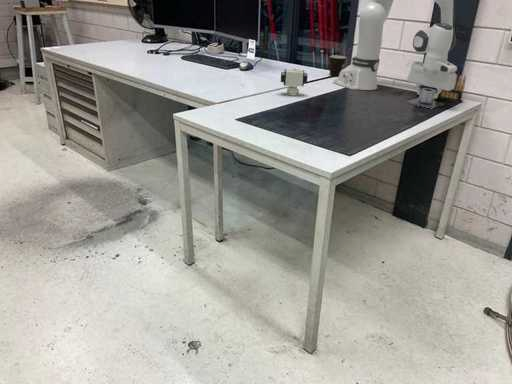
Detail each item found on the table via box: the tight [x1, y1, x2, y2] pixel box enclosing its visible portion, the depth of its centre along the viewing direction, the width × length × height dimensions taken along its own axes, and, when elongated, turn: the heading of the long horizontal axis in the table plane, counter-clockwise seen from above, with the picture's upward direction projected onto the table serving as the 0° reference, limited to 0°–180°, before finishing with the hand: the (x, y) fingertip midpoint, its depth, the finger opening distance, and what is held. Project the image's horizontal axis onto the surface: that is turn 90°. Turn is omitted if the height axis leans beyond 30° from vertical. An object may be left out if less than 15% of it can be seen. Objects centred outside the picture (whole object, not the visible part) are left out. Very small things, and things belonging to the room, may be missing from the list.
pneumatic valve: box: [280, 67, 308, 97], centre depth 187 cm, size 6×12×12 cm, turn 89°
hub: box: [418, 87, 437, 103], centre depth 183 cm, size 6×6×5 cm
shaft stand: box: [405, 97, 446, 110], centre depth 184 cm, size 12×12×5 cm
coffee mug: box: [329, 54, 347, 78], centre depth 226 cm, size 12×9×10 cm
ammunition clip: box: [438, 74, 467, 101], centre depth 190 cm, size 11×2×12 cm, turn 55°
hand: (426, 96), depth 183 cm, fingers closed on hub, 6 cm apart
